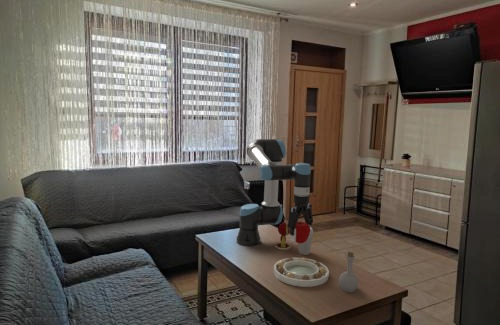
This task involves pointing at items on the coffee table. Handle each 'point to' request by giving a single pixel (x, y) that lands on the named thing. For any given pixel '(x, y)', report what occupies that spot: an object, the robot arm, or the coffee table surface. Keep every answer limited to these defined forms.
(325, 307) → the coffee table surface
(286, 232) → the figurine
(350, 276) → the potion bottle
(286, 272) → the bead tray
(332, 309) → the coffee table surface
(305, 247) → the coffee cup
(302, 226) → the apple
